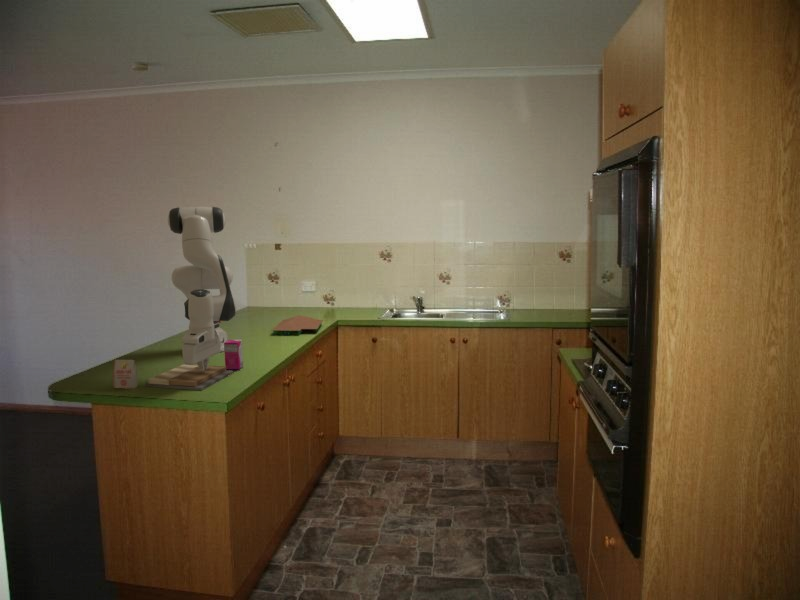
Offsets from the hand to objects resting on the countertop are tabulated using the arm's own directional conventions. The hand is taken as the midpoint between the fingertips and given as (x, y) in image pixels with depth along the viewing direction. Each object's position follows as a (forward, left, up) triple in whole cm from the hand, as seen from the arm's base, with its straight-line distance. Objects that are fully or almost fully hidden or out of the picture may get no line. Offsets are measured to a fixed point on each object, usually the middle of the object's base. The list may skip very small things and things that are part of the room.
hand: (203, 370), depth 209 cm
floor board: (0, -5, -4) cm, 6 cm away
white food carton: (+14, -22, -4) cm, 26 cm away
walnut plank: (0, -2, -3) cm, 3 cm away
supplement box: (-18, +3, -4) cm, 18 cm away
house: (-100, -2, -4) cm, 101 cm away
